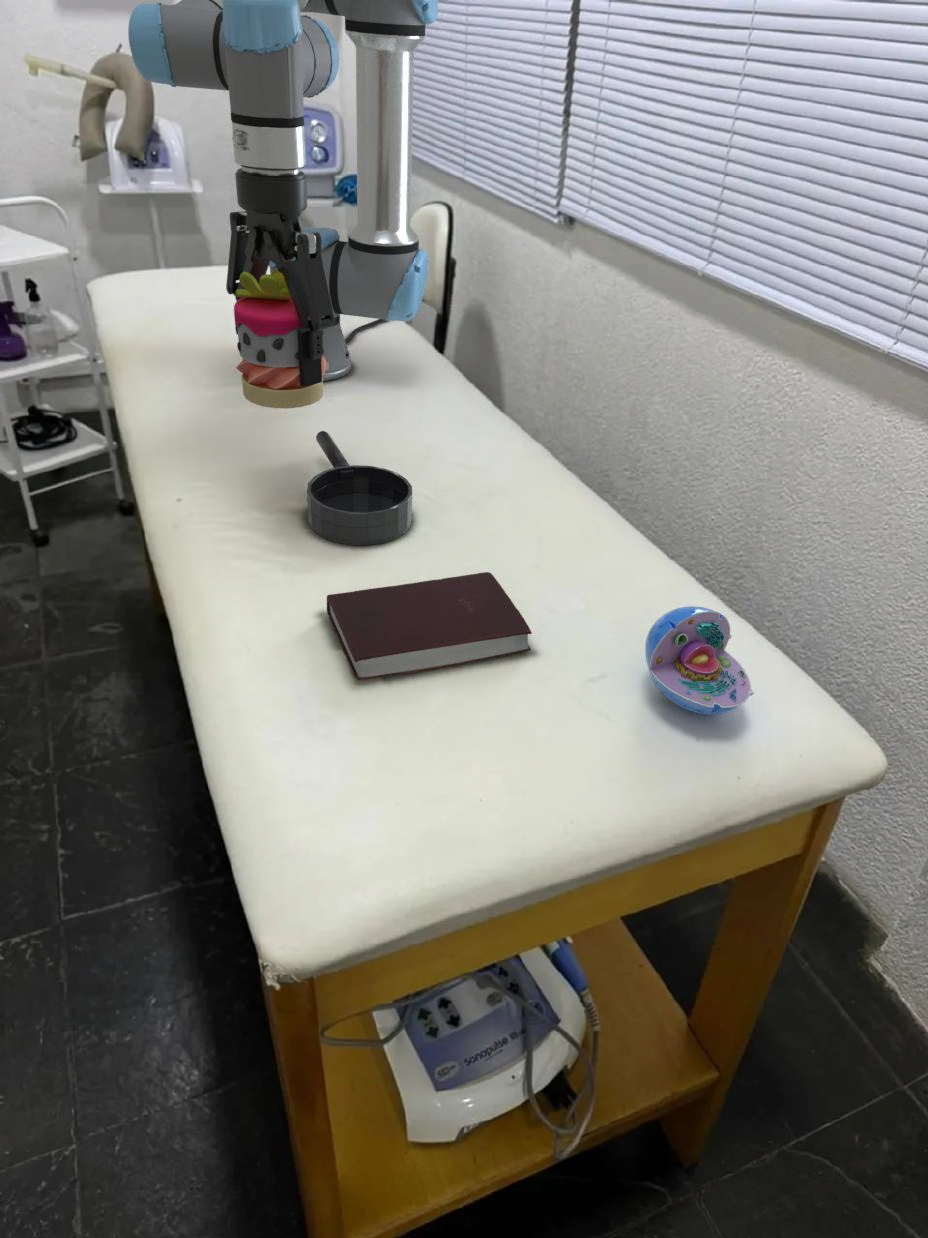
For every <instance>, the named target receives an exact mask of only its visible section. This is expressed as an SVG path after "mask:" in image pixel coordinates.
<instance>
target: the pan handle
mask: <svg viewBox="0 0 928 1238" xmlns="http://www.w3.org/2000/svg"><path fill="white" fill-rule="evenodd" d="M315 440H316V442H317V444H318V446H319V447H320V448H321V450H322V451H323V453H324V455H325V456H326V458H327V460H328V461H329V463H330V465H331V466H332V467H333V468H336V467H343V466H351V465H350V463H349V462H348V460H347V459H346V457H345V456H344V455H343V453H342V451H341V450H340V449H339V447H338V445H337V444H336V442H335V441H334V439H333V438H332V437H331V434H329V433H328V432H327V431H325V430H321V431H318V432H317V433H316V436H315ZM353 477H354V471H353V470H345V471H340V478H341V479H345V478H353Z"/></svg>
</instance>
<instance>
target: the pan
mask: <svg viewBox="0 0 928 1238" xmlns="http://www.w3.org/2000/svg"><path fill="white" fill-rule="evenodd" d="M345 470H353V471H354V477H353V478H345V479H341V478H340V471H345ZM306 505H307V506H306V509H307V520H308V524H309V527H310V528H311V529H312V530H313V531H314V533H315V534H317V535H318V536H320V537H322V538H323V539H326V540H328V541H331V542H334V543H337V544H341V545H348V546H349V545H350V546H373V545H374V546H375V545H379V544H385V543H388V542H391V541H394V540H395V539H397V538H400V537H401V536H403V535H404V534H405V533H406V532H407V531H408V530H409V529H410V526H411V524H412V517H413V516H412V515H413V486H412V483H410V481H409V480H408V479H407V478H406V477H404V476H403V475H401V474H400V473H398V472H396V471H393V470H390V469H388V468H384V467H379V466H373V465H362V464H361V465H357V464H356V465H355V464H354V465H352V464H351V465H350V466H343V467H336V468H334V467H333V468H329V469H325V470H323V471H322V472H320V473H318V474H316V475H314V476H313V477H312V478H311V479H310V480H309V482H308V483H307V486H306Z"/></svg>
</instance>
